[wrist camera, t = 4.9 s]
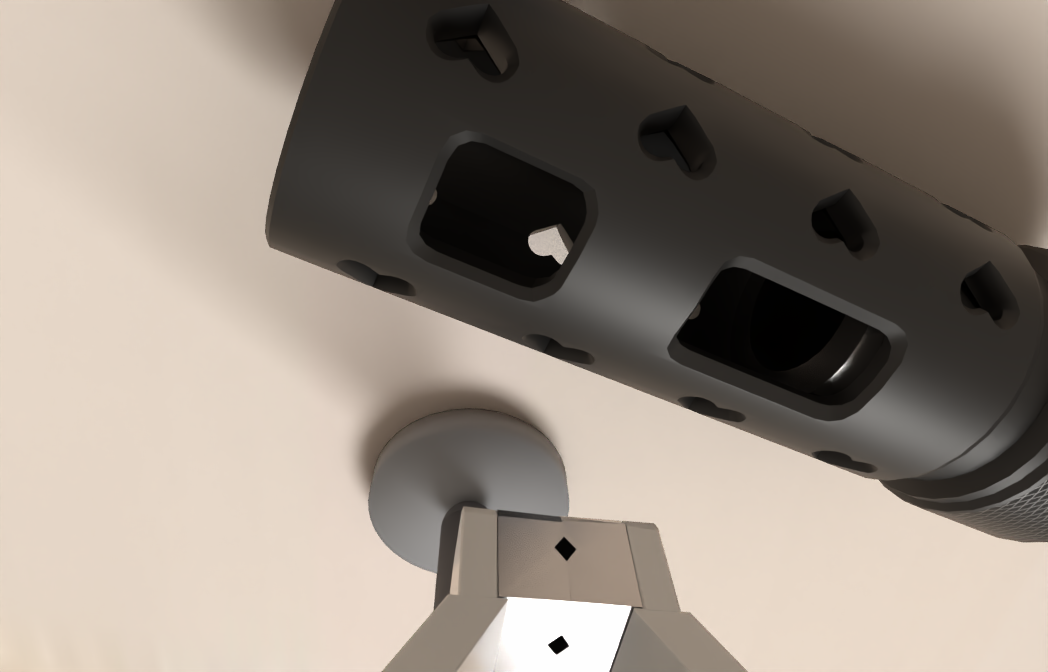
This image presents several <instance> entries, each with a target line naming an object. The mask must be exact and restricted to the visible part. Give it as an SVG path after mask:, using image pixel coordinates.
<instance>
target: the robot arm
mask: <svg viewBox="0 0 1048 672" xmlns="http://www.w3.org/2000/svg"><path fill="white" fill-rule="evenodd" d="M382 672H748V671H747V670H746V669H745V668H744V667H743V666H742V665H741V664H740V663H739V662H738V661H737V660H736V659H735V658H734V657H733V656H732V655H731V654H730V653H729V652H728V651H727V650H726V649H725V648H724V647H723V646H722V645H721V644H720V643H719V642H718V641H717V640H716V638H715V637H714V636H713V635H712V634H711V633H710V632H709V631H708V630H707V629H706V628H705V627H704V626H703V625H702V624H701V623H700V622H699V621H698V620H697V619H696V618H695V617H694V616H693V615H692V614H691V613H688V612H681V611H680V607H679V603H678V600H677V596H676V592H675V589H674V585H673V581H672V578H671V574H670V570H669V566H668V563H667V559H666V555H665V552H664V548H663V544H662V541H661V537H660V533H659V530H658V528H657V527H656V525H655V524H654V523H642V522H629V521H622V522H621V521H615V520H602V519H590V518H577V517H564V516H550V515H541V514H532V513H524V512H515V511H506V510H496V511H495V510H490V509H482V508H474V507H465V506H463V509H462V511H461V518H460V524H459V531H458V537H457V543H456V550H455V556H454V564H453V572H452V580H451V588H450V594H448V595H447V596H446V597H445V598H444V600H443V601H442V602H441V603H440V604H439V605H438V607H437V608H436V609H435V610H434V611H433V612H432V614H431V615H430V616H429V617H428V618H427V619H426V621H425V622H424V623H423V624H422V625H421V626H420V628H419V629H418V630H417V631H416V632H415V633H414V635H413V636H412V637H411V638H410V639H409V640H408V642H407V643H406V644H405V645H404V646H403V647H402V649H401V650H400V651H399V652H398V653H397V654H396V656H395V657H394V658H393V659H392V660H391V661H390V663H389V664H388V665H387V666H386V667H385V668H384V670H383V671H382Z"/></svg>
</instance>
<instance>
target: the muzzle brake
mask: <svg viewBox="0 0 1048 672" xmlns="http://www.w3.org/2000/svg"><path fill="white" fill-rule="evenodd" d="M553 227H557V229H558V231H559V234H560V236H561V238H562V240H563V242H564V244H565V246H566V248H567V250H568V252H569V254H568V255H567V257H566V259H565V261H564V262H563V264H562V265H560V264H559V263H558V262H557V261H556V260H555V259H554V257H553V256H552V255H549V256H539V255H537V254H535V253H534V252H533V251H531V249H530V247H529V244H528V237H529V236H530V235H532V234H535V233H538V232H542V231H545V230H548V229H551V228H553ZM265 234H266V238H267V241H268V244H269V246H270V247H271V248H273V249H276V250H278V251H281V252H284V253H286V254H289V255H291V256H294V257H297V258H299V259H302V260H304V261H307V262H309V263H312V264H315V265H317V266H320V267H322V268H325V269H327V270H330V271H333V272H335V273H338V274H340V275H343V276H346V277H348V278H351V279H353V280H356V281H358V282H361V283H364V284H366V285H369V286H372V287H374V288H377V289H379V290H382V291H384V292H387V293H389V294H392V295H395V296H397V297H400V298H402V299H405V300H408V301H410V302H413V303H415V304H418V305H420V306H423V307H426V308H428V309H431V310H433V311H436V312H439V313H441V314H444V315H446V316H449V317H451V318H454V319H457V320H459V321H462V322H464V323H467V324H470V325H472V326H475V327H477V328H480V329H482V330H485V331H488V332H490V333H493V334H495V335H498V336H501V337H503V338H506V339H508V340H511V341H513V342H516V343H519V344H521V345H524V346H526V347H529V348H532V349H534V350H537V351H539V352H542V353H545V354H547V355H550V356H552V357H555V358H557V359H560V360H563V361H565V362H568V363H570V364H573V365H575V366H578V367H581V368H583V369H586V370H588V371H591V372H593V373H596V374H599V375H601V376H604V377H606V378H609V379H612V380H614V381H617V382H619V383H622V384H624V385H627V386H630V387H632V388H635V389H637V390H640V391H643V392H645V393H648V394H650V395H653V396H655V397H658V398H661V399H663V400H666V401H668V402H671V403H674V404H676V405H679V406H681V407H684V408H687V409H690V410H692V411H694V412H697V413H699V414H702V415H705V416H707V417H710V418H712V419H715V420H717V421H720V422H723V423H725V424H728V425H730V426H733V427H736V428H738V429H741V430H743V431H746V432H748V433H751V434H754V435H756V436H759V437H761V438H764V439H767V440H769V441H772V442H774V443H777V444H779V445H782V446H785V447H787V448H790V449H792V450H795V451H798V452H800V453H803V454H805V455H808V456H810V457H813V458H816V459H819V460H821V461H824V462H826V463H829V464H831V465H834V466H836V467H839V468H841V469H844V470H847V471H849V472H852V473H854V474H857V475H860V476H862V477H865V478H870V479H878V480H879V481H880V482H881V483H882V484H883V486H884V487H886V488H887V489H888V490H890V491H891V492H892V493H894V494H895V495H896V496H898V497H899V498H901V499H902V500H903V501H905V502H908V503H910V504H912V505H915V506H917V507H920V508H922V509H924V510H927V511H930V512H932V513H935V514H937V515H940V516H943V517H945V518H948V519H950V520H953V521H956V522H958V523H961V524H964V525H966V526H969V527H971V528H974V529H977V530H979V531H982V532H984V533H987V534H990V535H992V536H995V537H997V538H1003V539H1008V540H1014V541H1019V542H1048V249H1044V248H1039V247H1033V246H1027V245H1016V244H1015V243H1014V242H1013V241H1011V240H1010V239H1009V238H1008V237H1007V236H1006V235H1004V234H1002V233H1001V232H999V231H997V230H995V229H993V228H991V227H989V226H987V225H985V224H983V223H981V222H979V221H977V220H975V219H973V218H971V217H969V216H967V215H965V214H963V213H961V212H960V211H958V210H956V209H954V208H952V207H950V206H948V205H945V204H942V203H939V202H938V201H937V200H936V199H935V198H934V197H932V196H931V195H929V194H927V193H925V192H923V191H921V190H919V189H917V188H915V187H914V186H912V185H910V184H908V183H906V182H904V181H902V180H900V179H898V178H897V177H895V176H893V175H891V174H889V173H887V172H885V171H883V170H881V169H880V168H878V167H876V166H874V165H872V164H870V163H868V162H866V161H864V160H863V159H861V158H859V157H857V156H855V155H853V154H851V153H849V152H847V151H845V150H843V149H841V148H839V147H837V146H835V145H833V144H831V143H829V142H827V141H825V140H823V139H820V138H817V137H814V136H811V134H810V133H809V132H808V131H806V130H805V129H803V128H801V127H800V126H798V125H796V124H794V123H793V122H791V121H789V120H787V119H785V118H783V117H781V116H779V115H777V114H776V113H774V112H772V111H770V110H768V109H766V108H764V107H762V106H760V105H759V104H757V103H755V102H753V101H751V100H749V99H747V98H745V97H743V96H742V95H740V94H738V93H736V92H734V91H732V90H730V89H728V88H726V87H725V86H723V85H721V84H719V83H717V82H715V81H713V80H711V79H709V78H707V77H705V76H703V75H701V74H699V73H697V72H695V71H693V70H691V69H689V68H687V67H685V66H683V65H681V64H679V63H677V62H673V61H670V60H668V59H667V58H666V57H665V56H664V55H662V54H660V53H659V52H657V51H655V50H653V49H652V48H650V47H648V46H647V45H645V44H643V43H641V42H639V41H638V40H636V39H634V38H632V37H630V36H628V35H626V34H624V33H622V32H621V31H619V30H617V29H615V28H613V27H611V26H609V25H607V24H605V23H604V22H602V21H600V20H598V19H596V18H594V17H592V16H590V15H588V14H587V13H585V12H583V11H581V10H579V9H577V8H575V7H573V6H571V5H570V4H568V3H566V2H564V1H562V0H335V2H334V5H333V7H332V9H331V11H330V14H329V16H328V19H327V21H326V24H325V27H324V29H323V32H322V34H321V37H320V39H319V42H318V44H317V47H316V49H315V52H314V55H313V58H312V60H311V63H310V66H309V69H308V72H307V74H306V77H305V80H304V83H303V86H302V88H301V91H300V94H299V97H298V100H297V103H296V107H295V110H294V113H293V116H292V119H291V122H290V125H289V128H288V131H287V134H286V138H285V141H284V145H283V148H282V152H281V155H280V159H279V162H278V166H277V169H276V174H275V178H274V182H273V186H272V190H271V194H270V199H269V205H268V210H267V216H266V227H265Z"/></svg>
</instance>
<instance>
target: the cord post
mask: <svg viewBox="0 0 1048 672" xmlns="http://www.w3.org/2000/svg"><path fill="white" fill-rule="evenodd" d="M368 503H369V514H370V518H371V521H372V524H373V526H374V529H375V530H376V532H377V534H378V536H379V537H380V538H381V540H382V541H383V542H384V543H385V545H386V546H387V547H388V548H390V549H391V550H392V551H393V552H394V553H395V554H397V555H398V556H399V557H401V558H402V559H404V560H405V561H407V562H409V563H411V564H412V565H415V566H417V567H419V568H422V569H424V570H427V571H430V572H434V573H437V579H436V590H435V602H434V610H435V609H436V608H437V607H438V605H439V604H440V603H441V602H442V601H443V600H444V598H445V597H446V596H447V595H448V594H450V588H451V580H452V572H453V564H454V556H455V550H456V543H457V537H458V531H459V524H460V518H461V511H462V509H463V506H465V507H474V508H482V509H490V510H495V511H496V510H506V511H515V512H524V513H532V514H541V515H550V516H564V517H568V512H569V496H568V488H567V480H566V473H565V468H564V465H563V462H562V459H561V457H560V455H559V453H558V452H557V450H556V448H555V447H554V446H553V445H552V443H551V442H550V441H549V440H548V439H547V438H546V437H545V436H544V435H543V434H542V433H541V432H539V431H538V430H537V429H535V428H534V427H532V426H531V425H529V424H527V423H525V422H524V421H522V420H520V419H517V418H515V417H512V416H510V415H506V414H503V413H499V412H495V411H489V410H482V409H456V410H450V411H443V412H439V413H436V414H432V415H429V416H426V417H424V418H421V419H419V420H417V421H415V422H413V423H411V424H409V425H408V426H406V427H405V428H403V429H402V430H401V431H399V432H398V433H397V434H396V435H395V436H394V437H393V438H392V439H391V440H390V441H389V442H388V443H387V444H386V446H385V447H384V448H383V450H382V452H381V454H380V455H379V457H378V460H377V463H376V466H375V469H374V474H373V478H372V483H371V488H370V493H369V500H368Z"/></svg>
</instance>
